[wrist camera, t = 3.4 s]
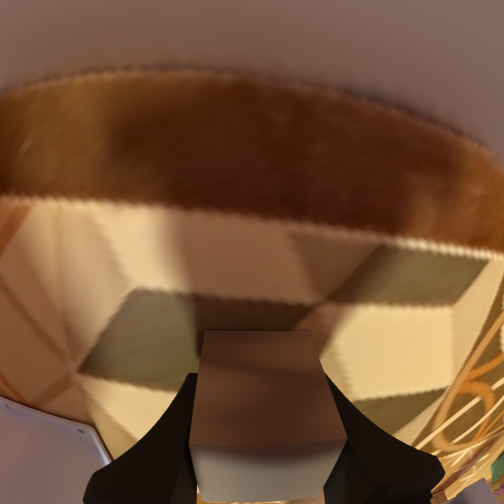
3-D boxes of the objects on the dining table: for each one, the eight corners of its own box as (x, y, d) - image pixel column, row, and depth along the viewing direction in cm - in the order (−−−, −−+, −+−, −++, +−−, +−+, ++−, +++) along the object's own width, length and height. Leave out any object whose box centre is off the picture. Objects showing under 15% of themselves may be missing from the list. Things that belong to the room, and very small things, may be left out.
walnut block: (209, 400, 14) (202, 501, 8) (204, 329, 13) (188, 444, 7) (296, 399, 14) (317, 496, 9) (308, 330, 13) (347, 438, 7)
